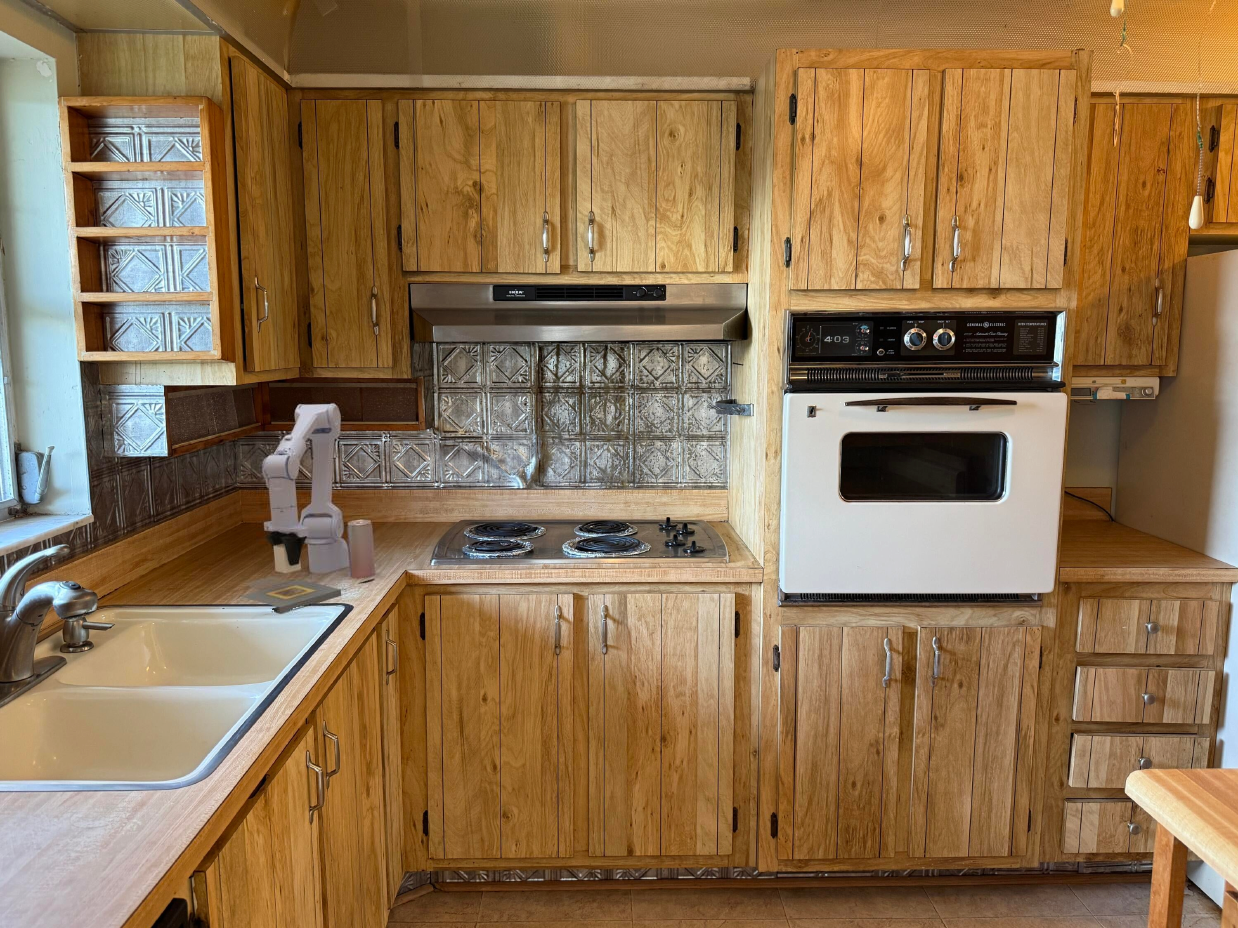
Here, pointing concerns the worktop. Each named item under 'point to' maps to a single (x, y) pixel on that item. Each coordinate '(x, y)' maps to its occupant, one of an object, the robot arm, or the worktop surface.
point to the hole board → (286, 604)
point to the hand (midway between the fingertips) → (288, 563)
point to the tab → (266, 582)
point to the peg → (283, 560)
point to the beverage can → (361, 549)
